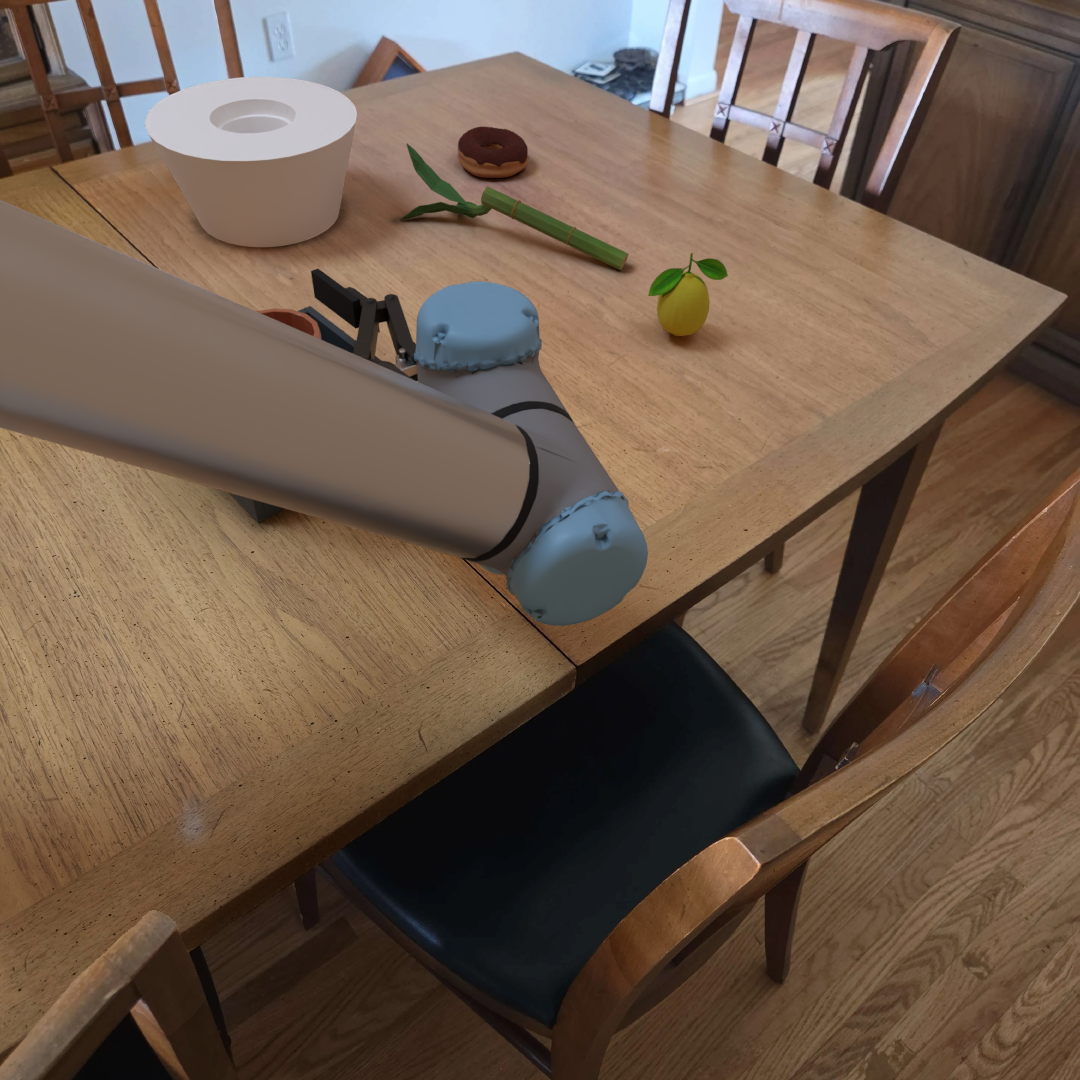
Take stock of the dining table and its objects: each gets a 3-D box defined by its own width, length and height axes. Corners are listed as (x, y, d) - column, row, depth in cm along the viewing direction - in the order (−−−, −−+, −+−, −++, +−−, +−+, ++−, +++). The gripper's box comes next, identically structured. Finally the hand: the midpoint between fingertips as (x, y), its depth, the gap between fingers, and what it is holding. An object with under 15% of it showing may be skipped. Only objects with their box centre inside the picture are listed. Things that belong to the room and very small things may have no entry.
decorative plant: (615, 267, 107) (390, 159, 110) (600, 318, 114) (389, 215, 117) (636, 237, 110) (416, 133, 113) (620, 288, 117) (414, 188, 120)
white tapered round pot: (300, 154, 129) (287, 62, 120) (404, 221, 117) (398, 124, 108) (135, 204, 117) (107, 106, 108) (233, 284, 105) (210, 181, 96)
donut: (522, 186, 125) (522, 156, 122) (450, 178, 126) (449, 148, 123) (533, 154, 132) (534, 125, 129) (465, 146, 132) (465, 118, 130)
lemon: (716, 330, 103) (733, 247, 96) (698, 357, 99) (715, 273, 92) (660, 313, 105) (672, 231, 97) (640, 339, 101) (652, 256, 94)
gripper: (260, 538, 67) (125, 398, 78) (516, 403, 80) (371, 298, 90) (241, 460, 62) (99, 321, 72) (519, 328, 74) (364, 225, 85)
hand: (249, 308), depth 81 cm, fingers open, 13 cm apart
